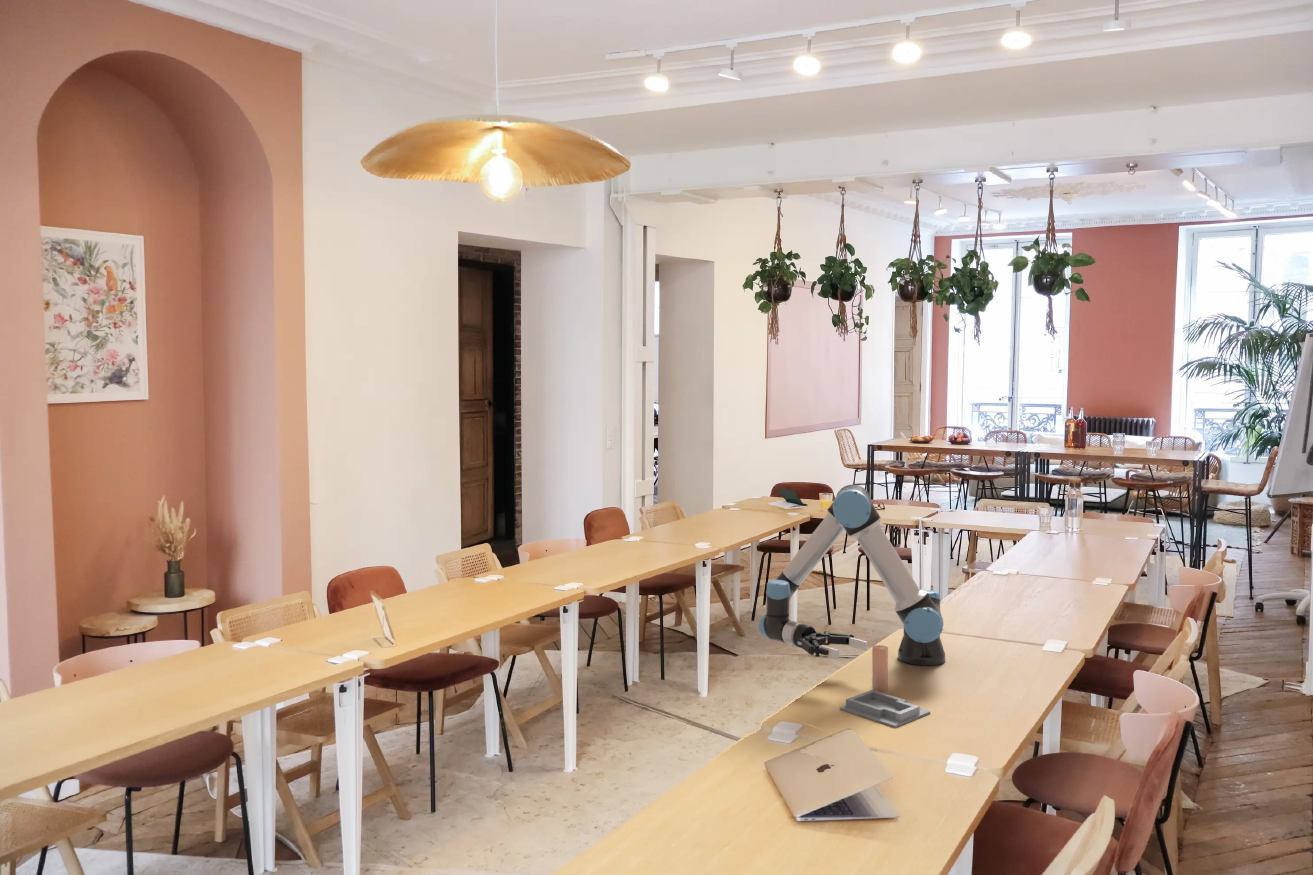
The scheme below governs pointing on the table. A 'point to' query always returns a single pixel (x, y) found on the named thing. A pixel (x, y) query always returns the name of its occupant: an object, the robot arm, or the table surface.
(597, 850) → the table surface
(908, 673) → the table surface
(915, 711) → the keyhole board
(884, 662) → the tall peach cylinder
